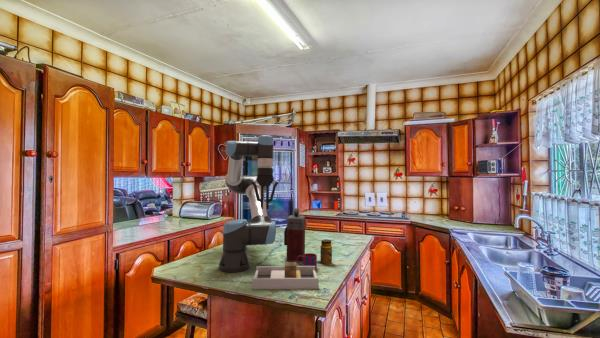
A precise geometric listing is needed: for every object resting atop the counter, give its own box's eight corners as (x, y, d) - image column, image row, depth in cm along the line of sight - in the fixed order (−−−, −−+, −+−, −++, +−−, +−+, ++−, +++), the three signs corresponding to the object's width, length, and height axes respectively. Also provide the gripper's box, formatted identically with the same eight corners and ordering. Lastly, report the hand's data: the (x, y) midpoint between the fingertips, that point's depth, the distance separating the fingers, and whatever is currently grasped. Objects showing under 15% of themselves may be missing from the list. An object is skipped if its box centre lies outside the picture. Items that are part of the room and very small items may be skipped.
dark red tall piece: (285, 255, 159) (286, 206, 159) (304, 256, 157) (305, 207, 158) (282, 260, 150) (282, 208, 150) (302, 261, 148) (303, 209, 149)
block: (284, 277, 118) (284, 265, 118) (284, 273, 123) (284, 262, 123) (296, 277, 119) (296, 265, 119) (295, 273, 124) (296, 262, 124)
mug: (315, 271, 133) (315, 257, 133) (295, 269, 136) (295, 255, 136) (317, 267, 140) (318, 253, 140) (298, 265, 142) (299, 252, 142)
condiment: (334, 264, 144) (334, 241, 144) (318, 266, 142) (319, 242, 142) (329, 260, 151) (329, 238, 151) (314, 261, 149) (315, 239, 149)
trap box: (252, 289, 112) (252, 279, 112) (256, 274, 128) (256, 266, 128) (318, 288, 113) (318, 278, 114) (314, 274, 129) (314, 265, 129)
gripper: (250, 167, 131) (250, 217, 130) (278, 167, 131) (277, 217, 131) (252, 167, 138) (252, 214, 138) (278, 167, 139) (278, 214, 138)
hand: (264, 215), depth 134 cm, fingers closed
